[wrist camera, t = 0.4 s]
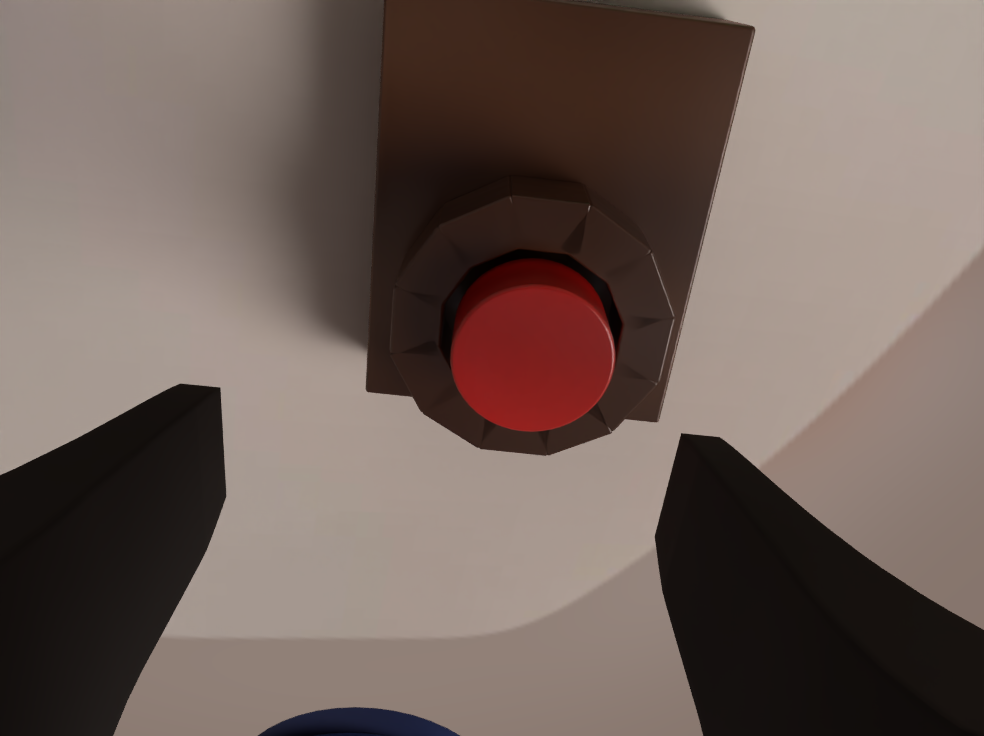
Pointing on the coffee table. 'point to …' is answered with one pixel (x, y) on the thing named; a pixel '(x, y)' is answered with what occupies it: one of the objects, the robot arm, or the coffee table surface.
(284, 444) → the coffee table surface
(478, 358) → the light button
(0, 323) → the coffee table surface
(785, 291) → the coffee table surface
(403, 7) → the switch box
